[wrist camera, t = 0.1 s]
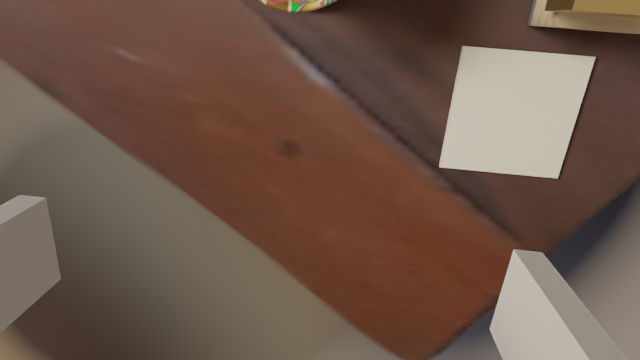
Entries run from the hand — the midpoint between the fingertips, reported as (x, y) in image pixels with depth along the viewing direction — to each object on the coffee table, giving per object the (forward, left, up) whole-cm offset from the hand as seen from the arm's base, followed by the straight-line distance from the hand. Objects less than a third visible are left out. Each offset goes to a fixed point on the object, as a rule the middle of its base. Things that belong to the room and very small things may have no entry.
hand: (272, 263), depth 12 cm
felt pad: (0, +17, -28) cm, 33 cm away
